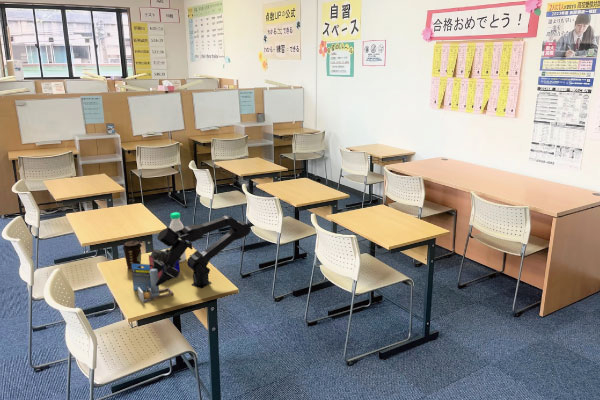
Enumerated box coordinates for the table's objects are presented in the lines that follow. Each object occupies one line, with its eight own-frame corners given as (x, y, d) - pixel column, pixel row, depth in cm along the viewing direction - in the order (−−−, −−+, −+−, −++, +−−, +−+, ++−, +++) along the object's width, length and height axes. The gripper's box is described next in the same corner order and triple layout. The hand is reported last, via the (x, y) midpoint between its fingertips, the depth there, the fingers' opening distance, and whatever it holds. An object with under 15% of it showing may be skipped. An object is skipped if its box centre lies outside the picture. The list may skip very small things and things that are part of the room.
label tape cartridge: (155, 288, 214) (154, 261, 212) (151, 291, 210) (150, 264, 208) (137, 286, 215) (135, 260, 213) (132, 290, 212) (131, 263, 209)
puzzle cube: (163, 280, 222) (161, 260, 219) (150, 274, 228) (148, 255, 225) (180, 272, 230) (178, 253, 227) (167, 267, 236) (165, 248, 233)
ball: (147, 291, 203) (142, 296, 202) (152, 295, 203) (147, 301, 203) (147, 290, 206) (142, 295, 205) (152, 295, 206) (147, 300, 205)
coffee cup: (141, 262, 241) (139, 238, 238) (145, 268, 234) (143, 243, 231) (123, 266, 237) (120, 242, 233) (127, 272, 230) (124, 247, 226)
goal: (148, 295, 208) (147, 284, 206) (152, 300, 203) (151, 290, 201) (138, 297, 205) (137, 287, 204) (142, 303, 201) (141, 292, 199)
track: (168, 289, 212) (168, 287, 212) (173, 295, 207) (173, 292, 207) (149, 294, 208) (149, 292, 208) (154, 300, 203) (154, 298, 203)
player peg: (158, 293, 209) (155, 268, 205) (161, 296, 206) (158, 270, 202) (150, 295, 207) (147, 269, 203) (152, 298, 204) (149, 272, 200)
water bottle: (178, 264, 240) (174, 216, 233) (168, 261, 243) (164, 214, 236) (189, 259, 245) (185, 212, 238) (179, 256, 249) (175, 210, 242)
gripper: (154, 235, 210) (131, 265, 207) (169, 249, 195) (144, 280, 192) (173, 248, 216) (151, 277, 213) (189, 262, 201) (165, 293, 198)
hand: (152, 281), depth 204 cm, fingers open, 9 cm apart
